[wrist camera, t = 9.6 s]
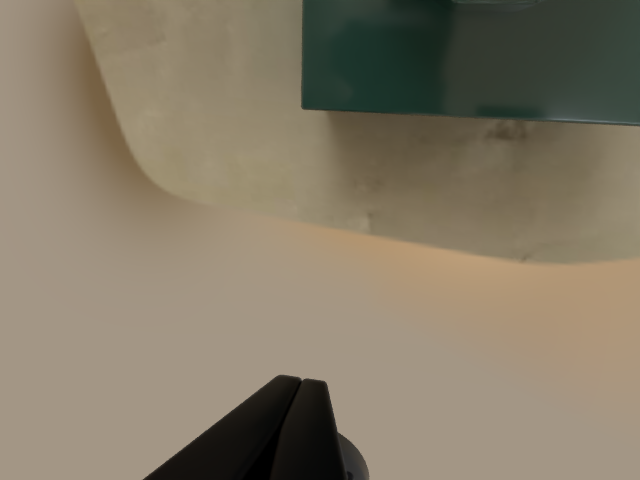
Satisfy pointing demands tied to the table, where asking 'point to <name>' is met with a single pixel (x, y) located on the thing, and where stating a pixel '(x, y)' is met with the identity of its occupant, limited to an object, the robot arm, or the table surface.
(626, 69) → the push button box
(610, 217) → the table surface
